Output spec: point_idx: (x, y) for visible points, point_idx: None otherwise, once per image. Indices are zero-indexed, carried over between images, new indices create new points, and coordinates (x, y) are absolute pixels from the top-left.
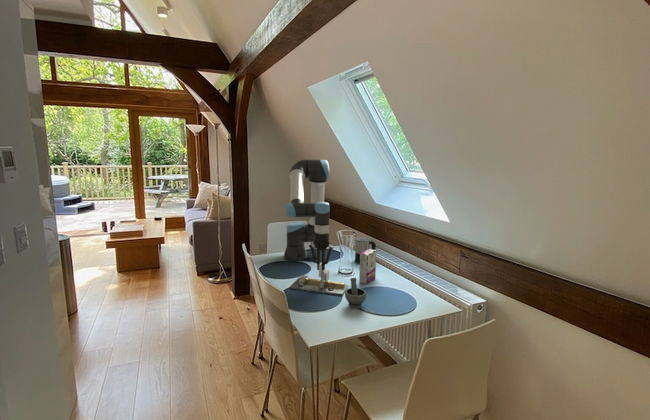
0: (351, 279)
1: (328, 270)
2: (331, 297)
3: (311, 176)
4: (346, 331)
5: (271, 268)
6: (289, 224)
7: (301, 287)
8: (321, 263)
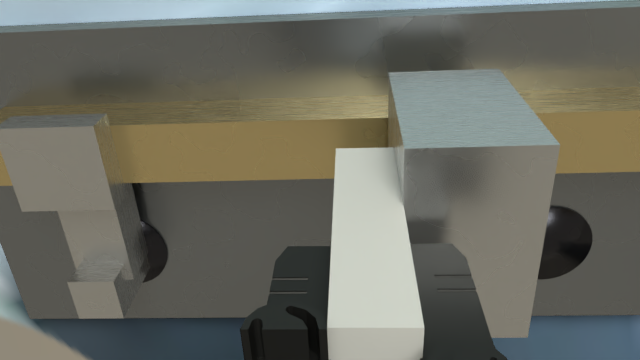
0: None
1: (545, 176)
2: (572, 356)
3: None
4: None
5: None
6: None
7: (167, 298)
8: (363, 330)
